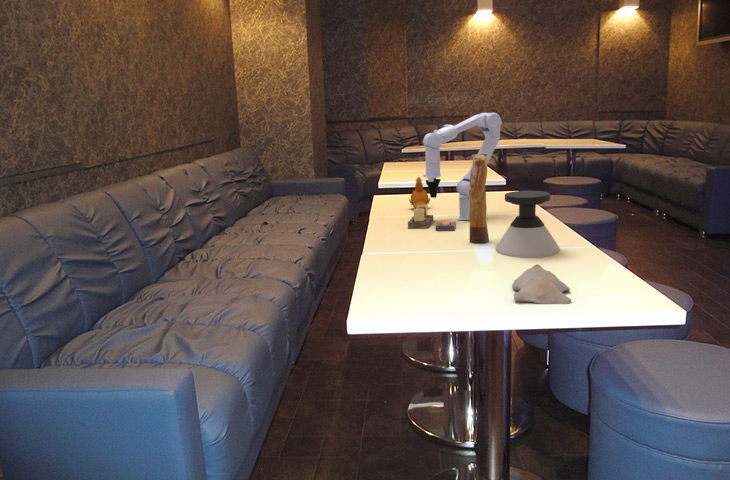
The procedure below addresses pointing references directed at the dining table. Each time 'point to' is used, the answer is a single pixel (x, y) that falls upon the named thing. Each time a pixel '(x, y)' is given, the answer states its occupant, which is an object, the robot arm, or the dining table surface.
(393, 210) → the dining table surface
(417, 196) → the toy
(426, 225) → the brown compartment tray
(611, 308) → the dining table surface
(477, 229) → the sculpture
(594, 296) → the dining table surface
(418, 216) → the block
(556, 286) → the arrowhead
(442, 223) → the button
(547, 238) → the light fixture
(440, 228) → the button housing
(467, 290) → the dining table surface
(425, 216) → the block
